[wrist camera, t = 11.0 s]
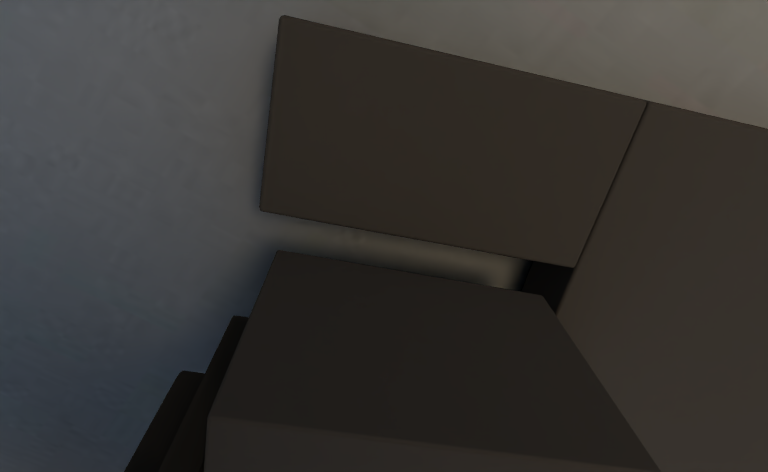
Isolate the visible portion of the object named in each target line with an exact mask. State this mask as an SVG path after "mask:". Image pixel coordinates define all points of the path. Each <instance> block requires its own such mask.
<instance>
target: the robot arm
mask: <svg viewBox="0 0 768 472" xmlns="http://www.w3.org/2000/svg"><path fill="white" fill-rule="evenodd" d="M248 319H249V318H248V317H241V316H235V315H234V316H233V317H232V319H231V321H230V323H229V325H228V327H227V329H226V331H225V333H224V335H223V337H222V340H221V342H220V344H219V346H218V348H217V350H216V352H215V354H214V356H213V358H212V360H211V362H210V365H209V367H208V369H207V371H206V373H205V374H204V373H197V372H189V371H182V372H180V373H179V375H178V376H177V378H176V379H175V381H174V383H173V385H172V387H171V388H170V390H169V392H168V394H167V396H166V397H165V399H164V401H163V403H162V404H161V406H160V408H159V410H158V412H157V413H156V415H155V417H154V419H153V421H152V422H151V424H150V426H149V428H148V430H147V431H146V433H145V435H144V437H143V439H142V440H141V442H140V444H139V446H138V448H137V449H136V451H135V453H134V455H133V456H132V458H131V460H130V462H129V464H128V465H127V467H126V469H125V471H124V472H204V461H205V446H206V431H207V417H208V415H209V412H210V410H211V408H212V405H213V403H214V400H215V398H216V396H217V393H218V391H219V389H220V386H221V384H222V381H223V379H224V377H225V374H226V372H227V369H228V367H229V365H230V362H231V360H232V357H233V355H234V353H235V350H236V348H237V346H238V343H239V341H240V338H241V336H242V334H243V331H244V329H245V326H246V324H247V322H248Z"/></svg>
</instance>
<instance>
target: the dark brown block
mask: <svg viewBox="0 0 768 472" xmlns="http://www.w3.org/2000/svg"><path fill="white" fill-rule="evenodd" d="M204 472H661V470H660V469H659V468H658V466H657V465H656V463H655V462H654V460H653V459H652V457H651V456H650V454H649V453H648V451H647V450H646V448H645V447H644V445H643V444H642V442H641V441H640V439H639V438H638V436H637V435H636V433H635V432H634V430H633V429H632V428H631V426H630V425H629V423H628V422H627V420H626V419H625V417H624V416H623V414H622V413H621V411H620V410H619V408H618V407H617V405H616V404H615V402H614V401H613V399H612V398H611V396H610V395H609V393H608V392H607V390H606V389H605V387H604V386H603V385H602V383H601V382H600V380H599V379H598V377H597V376H596V374H595V373H594V371H593V370H592V368H591V367H590V365H589V364H588V362H587V361H586V359H585V358H584V356H583V355H582V353H581V352H580V350H579V349H578V347H577V346H576V345H575V343H574V342H573V340H572V339H571V337H570V336H569V334H568V333H567V331H566V330H565V328H564V327H563V325H562V324H561V322H560V321H559V319H558V318H557V316H556V315H555V313H554V312H553V310H552V309H551V307H550V306H549V304H548V303H547V302H546V300H545V299H544V297H543V296H542V295H537V294H531V293H525V292H519V291H513V290H508V289H502V288H496V287H490V286H484V285H479V284H473V283H467V282H461V281H455V280H450V279H444V278H438V277H432V276H426V275H421V274H415V273H409V272H403V271H397V270H392V269H386V268H380V267H374V266H368V265H363V264H357V263H351V262H345V261H339V260H333V259H328V258H322V257H316V256H310V255H304V254H299V253H293V252H287V251H281V250H278V251H277V252H276V255H275V257H274V260H273V262H272V264H271V267H270V269H269V271H268V274H267V276H266V279H265V281H264V283H263V286H262V288H261V291H260V293H259V295H258V298H257V300H256V303H255V305H254V307H253V310H252V312H251V314H250V317H249V319H248V322H247V324H246V326H245V329H244V331H243V334H242V336H241V338H240V341H239V343H238V346H237V348H236V350H235V353H234V355H233V357H232V360H231V362H230V365H229V367H228V369H227V372H226V374H225V377H224V379H223V381H222V384H221V386H220V389H219V391H218V393H217V396H216V398H215V400H214V403H213V405H212V408H211V410H210V412H209V415H208V417H207V431H206V446H205V461H204Z"/></svg>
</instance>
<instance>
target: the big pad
mask: <svg viewBox="0 0 768 472" xmlns="http://www.w3.org/2000/svg"><path fill="white" fill-rule="evenodd" d="M259 208H260V210H261V211H263V212H269V213H274V214H280V215H285V216H291V217H296V218H302V219H307V220H313V221H318V222H324V223H329V224H335V225H340V226H345V227H351V228H356V229H362V230H367V231H373V232H378V233H384V234H389V235H395V236H400V237H406V238H411V239H417V240H422V241H428V242H433V243H439V244H444V245H450V246H455V247H461V248H466V249H472V250H477V251H483V252H488V253H494V254H499V255H504V256H510V257H515V258H521V259H526V260H532V261H533V263H532V266H531V269H530V271H529V274H528V276H527V279H526V281H525V284H524V286H523V289H522V291H521V292H525V293H531V294H537V295H542V296H543V297H544V299H545V300H546V302H547V303H548V304H549V306H550V307H551V309H552V310H553V312H554V313H555V315H556V316H557V318H558V319H559V321H560V322H561V324H562V325H563V327H564V328H565V330H566V331H567V333H568V334H569V336H570V337H571V339H572V340H573V342H574V343H575V345H576V346H577V347H578V349H579V350H580V352H581V353H582V355H583V356H584V358H585V359H586V361H587V362H588V364H589V365H590V367H591V368H592V370H593V371H594V373H595V374H596V376H597V377H598V379H599V380H600V382H601V383H602V385H603V386H604V387H605V389H606V390H607V392H608V393H609V395H610V396H611V398H612V399H613V401H614V402H615V404H616V405H617V407H618V408H619V410H620V411H621V413H622V414H623V416H624V417H625V419H626V420H627V422H628V423H629V425H630V426H631V428H632V429H633V430H634V432H635V433H636V435H637V436H638V438H639V439H640V441H641V442H642V444H643V445H644V447H645V448H646V450H647V451H648V453H649V454H650V456H651V457H652V459H653V460H654V462H655V463H656V465H657V466H658V468H659V469H660V470H661V472H768V129H766V128H761V127H757V126H753V125H749V124H744V123H740V122H736V121H732V120H727V119H723V118H719V117H715V116H710V115H706V114H702V113H698V112H693V111H689V110H685V109H681V108H676V107H672V106H668V105H664V104H659V103H655V102H651V101H646V100H642V99H638V98H634V97H630V96H625V95H621V94H617V93H613V92H608V91H604V90H600V89H596V88H591V87H587V86H583V85H579V84H574V83H570V82H566V81H562V80H557V79H553V78H549V77H545V76H540V75H536V74H532V73H528V72H523V71H519V70H515V69H511V68H506V67H502V66H498V65H494V64H489V63H485V62H481V61H477V60H473V59H468V58H464V57H460V56H456V55H451V54H447V53H443V52H439V51H434V50H430V49H426V48H422V47H417V46H413V45H409V44H405V43H400V42H396V41H392V40H388V39H383V38H379V37H375V36H371V35H366V34H362V33H358V32H354V31H349V30H345V29H341V28H337V27H332V26H328V25H324V24H320V23H315V22H311V21H307V20H303V19H298V18H294V17H290V16H286V15H284V16H281V17H280V19H279V25H278V35H277V44H276V54H275V63H274V73H273V82H272V92H271V101H270V111H269V120H268V129H267V139H266V148H265V158H264V167H263V177H262V186H261V196H260V205H259Z"/></svg>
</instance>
